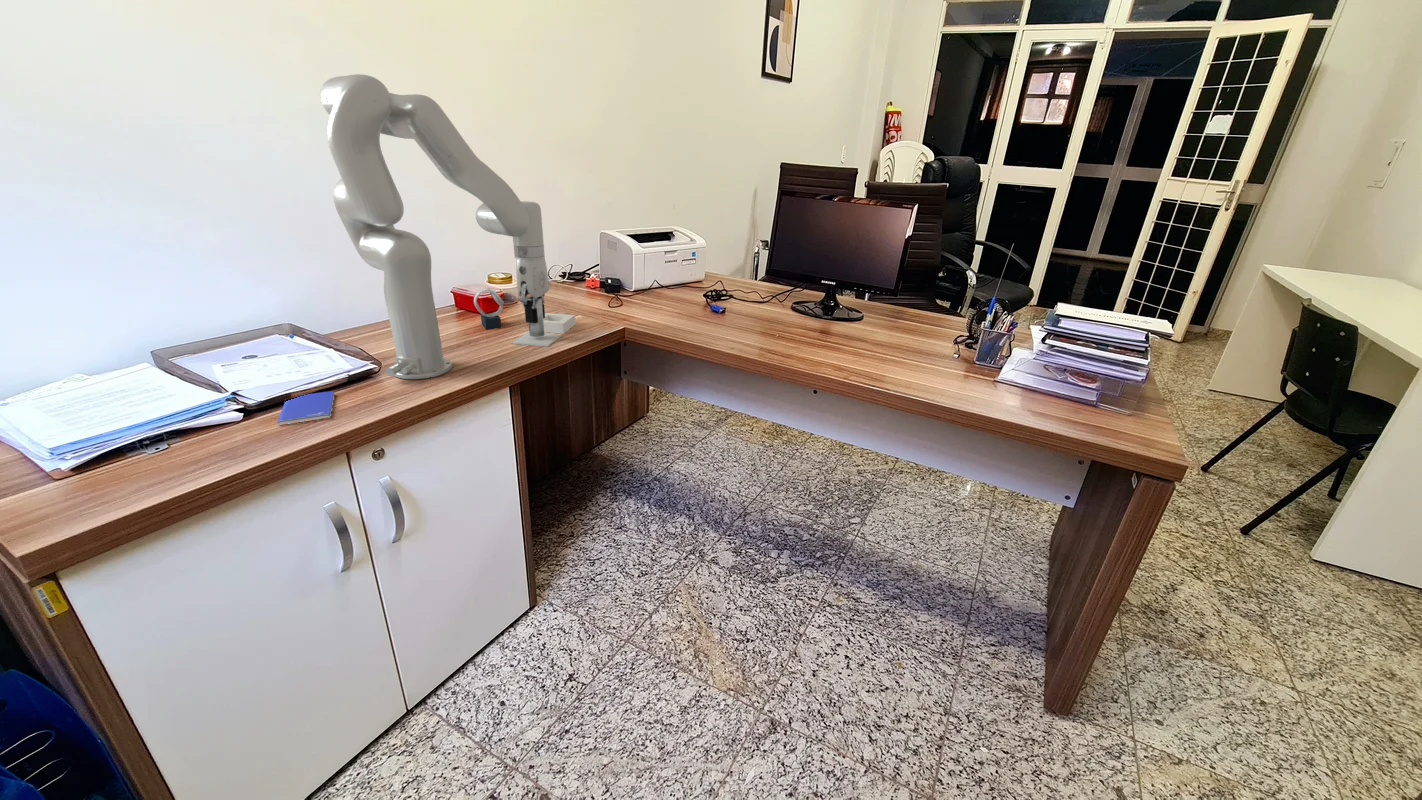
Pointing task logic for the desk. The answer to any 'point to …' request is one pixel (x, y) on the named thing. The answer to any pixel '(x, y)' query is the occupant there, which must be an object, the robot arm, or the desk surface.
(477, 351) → the desk surface
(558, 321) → the grey square socket block
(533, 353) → the desk surface
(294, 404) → the blue book
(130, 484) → the desk surface
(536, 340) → the mat
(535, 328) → the peg
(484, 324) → the grey ring on block
